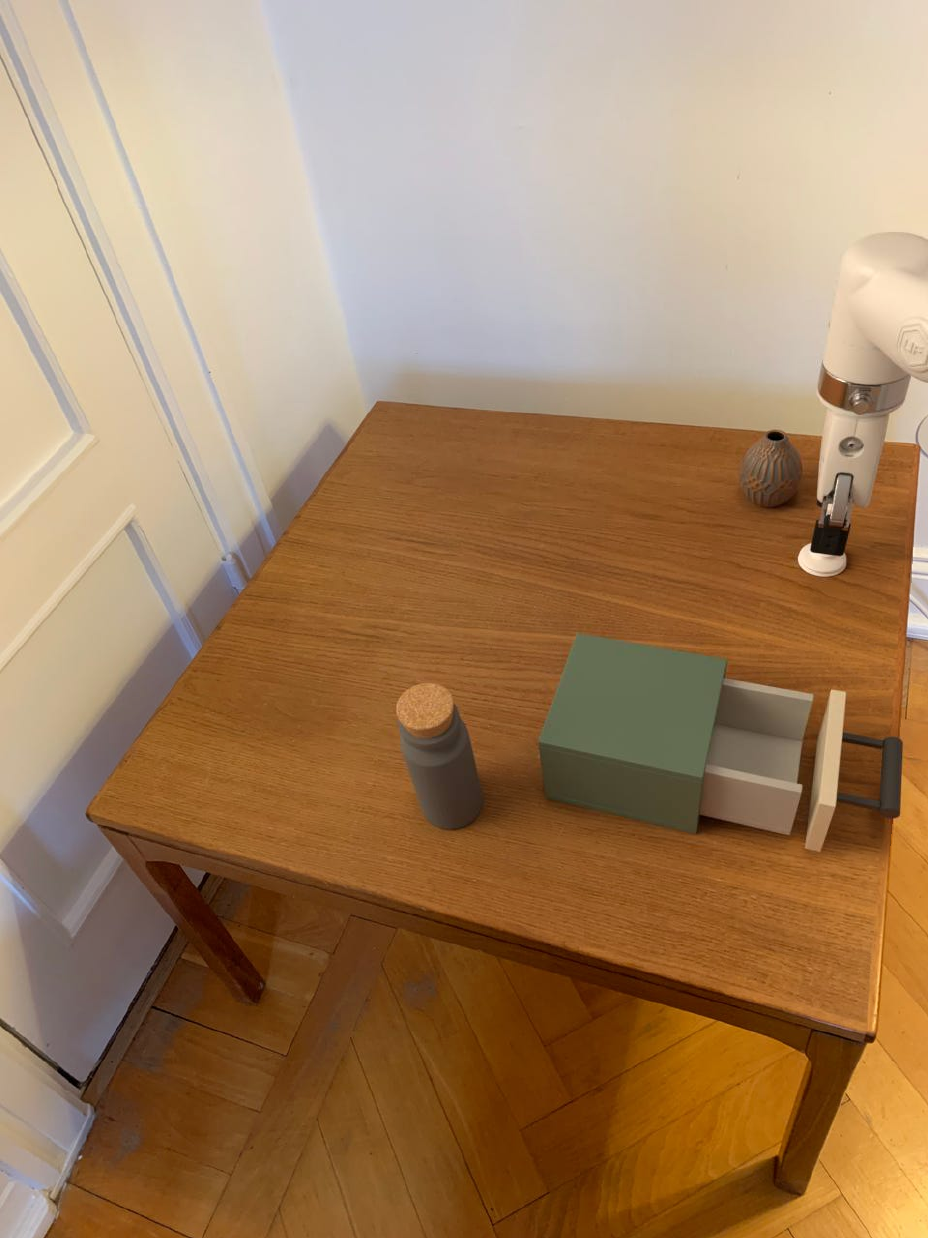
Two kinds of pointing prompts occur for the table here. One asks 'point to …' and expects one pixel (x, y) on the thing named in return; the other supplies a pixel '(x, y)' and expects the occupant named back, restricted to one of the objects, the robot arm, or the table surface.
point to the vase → (770, 470)
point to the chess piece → (821, 560)
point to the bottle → (439, 756)
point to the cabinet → (632, 730)
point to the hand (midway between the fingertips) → (829, 527)
